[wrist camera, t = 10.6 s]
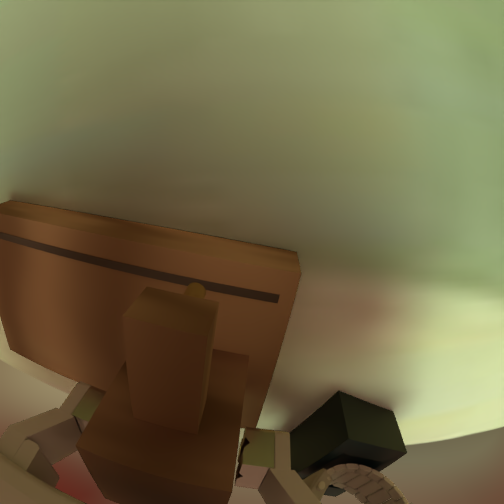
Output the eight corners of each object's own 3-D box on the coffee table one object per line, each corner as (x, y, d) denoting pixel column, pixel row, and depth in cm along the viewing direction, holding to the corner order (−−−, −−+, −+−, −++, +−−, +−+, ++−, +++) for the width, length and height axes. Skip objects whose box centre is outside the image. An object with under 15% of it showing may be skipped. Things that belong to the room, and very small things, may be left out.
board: (28, 331, 14) (9, 349, 12) (10, 200, 11) (-18, 209, 9) (257, 399, 14) (254, 430, 12) (296, 252, 11) (301, 273, 9)
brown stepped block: (147, 400, 12) (105, 498, 7) (144, 245, 9) (36, 343, 4) (234, 420, 12) (217, 529, 7) (268, 269, 9) (259, 408, 4)
